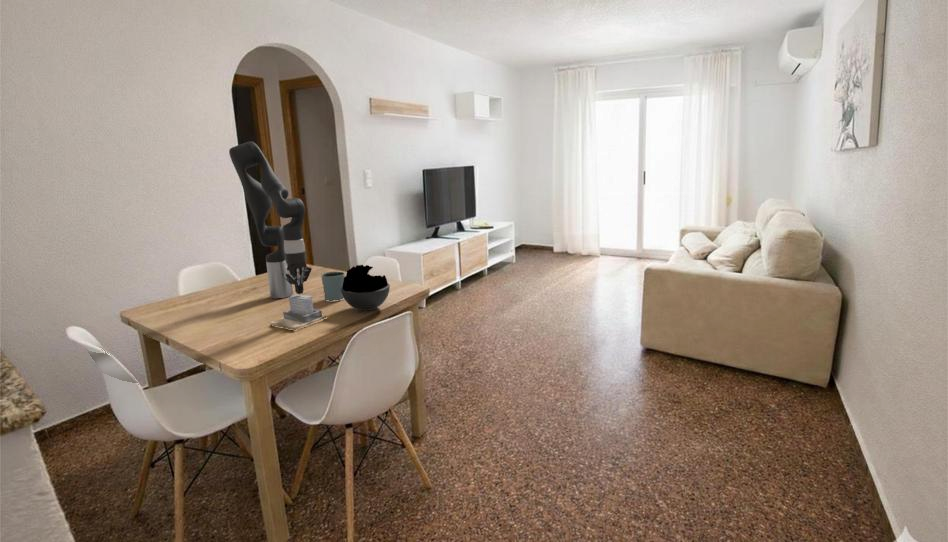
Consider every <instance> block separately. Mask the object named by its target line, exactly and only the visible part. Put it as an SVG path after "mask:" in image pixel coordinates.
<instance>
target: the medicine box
mask: <svg viewBox="0 0 948 542" xmlns="http://www.w3.org/2000/svg"><path fill="white" fill-rule="evenodd" d="M288 300H289V310H291V313H296V314H301V315H308V314H310V313H313V312H314V310H313V309H314V305H313V304H314V302H313V296H312V295H304V294H293V295H291V296H290V297H288Z"/></svg>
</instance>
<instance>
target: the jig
mask: <svg viewBox="0 0 948 542" xmlns="http://www.w3.org/2000/svg"><path fill="white" fill-rule="evenodd" d="M313 310H314V312H313V313H310V314H308V315H301V314H296V313H291V309H289V310H286V311H283V313H282V314H283V315H282V316H283V317H281V318H279V319H275V320H273V321H270V323H269V325H273V326H278V327H283V328H288V329H293V330H296V329H299V328H301V327H304V326H306V325H309V324H311V323H314V322H316V321H319V320H321V319H324V318H326V317H327V318H328V315H326V314H323V312H322V310H320V309H315V308H313ZM273 326H272V327H273Z"/></svg>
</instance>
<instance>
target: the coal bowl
mask: <svg viewBox="0 0 948 542" xmlns="http://www.w3.org/2000/svg"><path fill="white" fill-rule="evenodd" d="M373 268H374V267H373V266H370V265H368V264H366V265H364V264H358V265H356V266H354V265H353V266H352V267H350V268H349V269H348V270H347V271H346V275H345V277H344V281H343V286H342V288H341V292H342V295H343V297H344V301H345V302H346V303H347V304H348V305H349V306H351V307H352V308H354V309H355V310H360V311H371V310H370V309H372V310H374V308H375V309H376V308H379V307H380V306H381V305H383V303H384V302H386V300H387V298H388V296H389V293H390V287H391V286H390V284H389V283H388V280H387V277H386V275H371V274H369V272H370V271H371V270H372V269H373Z"/></svg>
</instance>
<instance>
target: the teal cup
mask: <svg viewBox="0 0 948 542" xmlns="http://www.w3.org/2000/svg"><path fill="white" fill-rule="evenodd" d="M344 277H346V275H345V272H343V271H329V272H324V273H322V274H321V282H322V285H323V287H322V289H323V294H324V301H325V300H329V301H333V300H340V299H343V298H344V297H343V295H342V292H341V288H342V286H343V281H344Z"/></svg>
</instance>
